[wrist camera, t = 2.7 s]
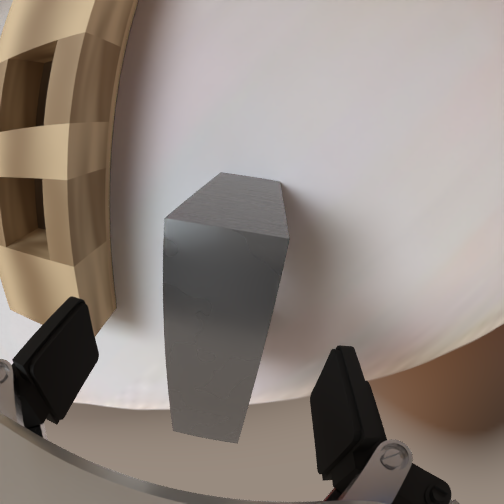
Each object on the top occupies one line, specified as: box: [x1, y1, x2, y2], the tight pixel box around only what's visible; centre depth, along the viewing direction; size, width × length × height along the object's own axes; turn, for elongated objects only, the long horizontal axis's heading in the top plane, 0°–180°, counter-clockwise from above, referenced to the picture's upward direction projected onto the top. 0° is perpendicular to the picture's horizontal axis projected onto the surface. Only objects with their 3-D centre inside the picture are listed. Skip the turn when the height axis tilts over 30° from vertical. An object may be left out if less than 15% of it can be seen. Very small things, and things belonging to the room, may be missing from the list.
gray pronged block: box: [163, 172, 289, 443], centre depth 12 cm, size 10×3×8 cm, turn 171°
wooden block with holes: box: [0, 0, 138, 336], centre depth 12 cm, size 8×22×4 cm, turn 171°
